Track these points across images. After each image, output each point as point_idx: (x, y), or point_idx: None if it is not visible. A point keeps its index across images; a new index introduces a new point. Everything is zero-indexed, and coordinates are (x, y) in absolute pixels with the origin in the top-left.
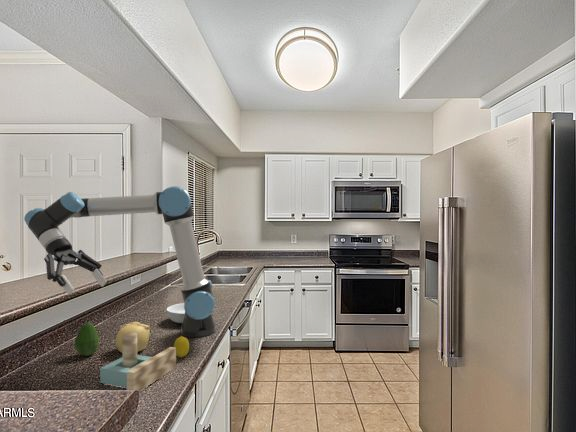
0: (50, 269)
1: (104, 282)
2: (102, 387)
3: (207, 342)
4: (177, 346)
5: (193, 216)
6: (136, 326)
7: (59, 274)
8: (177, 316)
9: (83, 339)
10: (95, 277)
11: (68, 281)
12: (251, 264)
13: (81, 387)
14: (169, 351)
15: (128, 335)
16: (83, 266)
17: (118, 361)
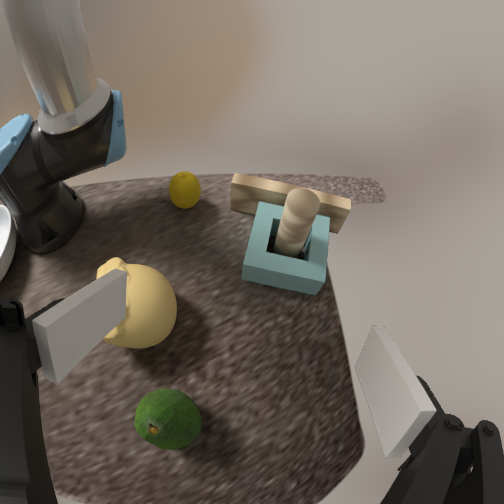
0: (500, 470)
1: (124, 282)
2: (325, 284)
3: (114, 188)
4: (198, 188)
5: None
6: (134, 276)
7: (454, 416)
8: (6, 258)
9: (193, 415)
10: (83, 351)
11: (398, 365)
12: None
13: (333, 321)
14: (254, 177)
15: (307, 201)
16: (41, 453)
17: (288, 264)
